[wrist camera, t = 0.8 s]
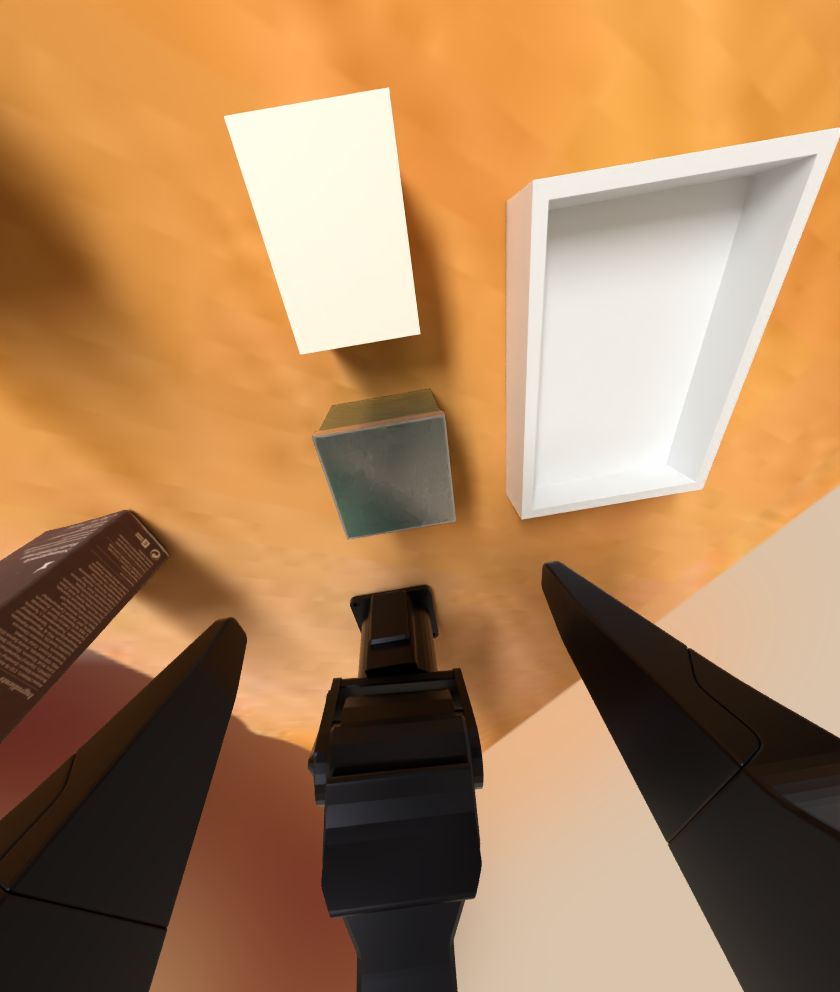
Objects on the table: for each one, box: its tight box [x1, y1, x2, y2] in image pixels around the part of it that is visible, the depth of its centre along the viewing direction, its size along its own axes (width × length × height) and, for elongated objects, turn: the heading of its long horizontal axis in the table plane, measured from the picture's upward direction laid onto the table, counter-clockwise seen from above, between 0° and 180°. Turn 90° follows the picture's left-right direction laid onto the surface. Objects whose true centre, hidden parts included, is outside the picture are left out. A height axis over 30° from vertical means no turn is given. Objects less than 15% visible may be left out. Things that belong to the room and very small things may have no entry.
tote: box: [506, 127, 840, 519], centre depth 16 cm, size 15×11×3 cm
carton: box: [224, 88, 420, 355], centre depth 12 cm, size 6×4×5 cm
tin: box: [312, 389, 456, 540], centre depth 17 cm, size 6×6×5 cm
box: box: [0, 510, 169, 744], centre depth 16 cm, size 6×4×12 cm
